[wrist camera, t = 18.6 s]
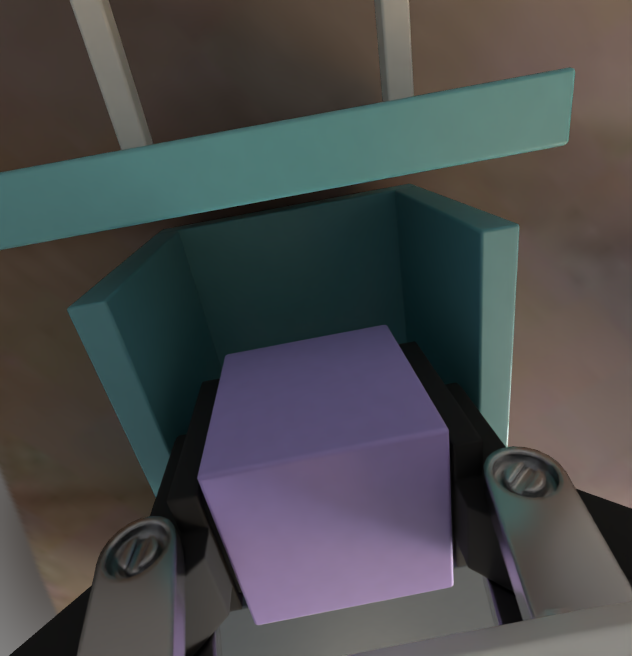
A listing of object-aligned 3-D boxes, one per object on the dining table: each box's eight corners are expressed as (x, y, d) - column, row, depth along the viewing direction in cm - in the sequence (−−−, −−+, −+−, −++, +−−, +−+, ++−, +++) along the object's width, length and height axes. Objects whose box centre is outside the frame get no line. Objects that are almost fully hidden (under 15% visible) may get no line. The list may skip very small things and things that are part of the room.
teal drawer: (53, -29, 12) (-297, -283, 4) (415, -95, 12) (629, -447, 5) (224, 458, 20) (193, 641, 13) (437, 418, 20) (527, 577, 13)
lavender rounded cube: (224, 353, 10) (194, 478, 7) (387, 322, 10) (450, 428, 7) (261, 475, 12) (254, 628, 8) (399, 448, 12) (455, 588, 8)
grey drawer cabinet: (198, 406, 19) (135, 628, 11) (441, 360, 19) (575, 544, 11) (266, 593, 26) (260, 828, 17) (448, 558, 26) (535, 774, 17)
